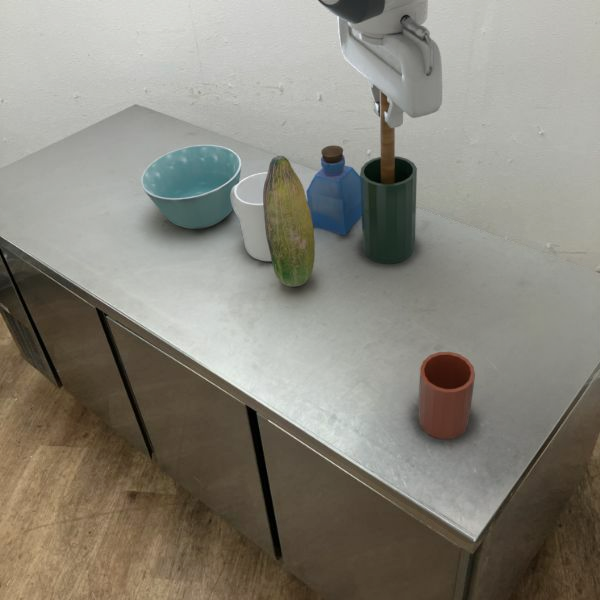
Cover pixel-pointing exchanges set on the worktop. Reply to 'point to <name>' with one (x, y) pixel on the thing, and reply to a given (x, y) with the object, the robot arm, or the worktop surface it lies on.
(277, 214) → the vegetable
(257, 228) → the mug
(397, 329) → the worktop surface
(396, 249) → the cup
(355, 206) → the perfume bottle
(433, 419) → the holder
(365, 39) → the robot arm
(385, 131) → the wooden dowel rod
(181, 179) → the bowl
